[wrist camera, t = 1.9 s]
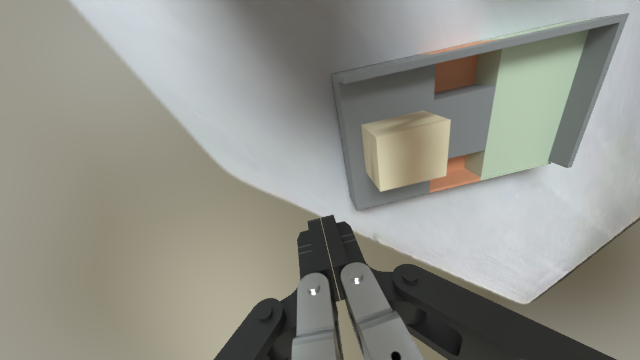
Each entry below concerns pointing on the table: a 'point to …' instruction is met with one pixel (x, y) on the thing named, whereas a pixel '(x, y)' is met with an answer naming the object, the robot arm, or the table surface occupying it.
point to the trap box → (483, 102)
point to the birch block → (406, 149)
